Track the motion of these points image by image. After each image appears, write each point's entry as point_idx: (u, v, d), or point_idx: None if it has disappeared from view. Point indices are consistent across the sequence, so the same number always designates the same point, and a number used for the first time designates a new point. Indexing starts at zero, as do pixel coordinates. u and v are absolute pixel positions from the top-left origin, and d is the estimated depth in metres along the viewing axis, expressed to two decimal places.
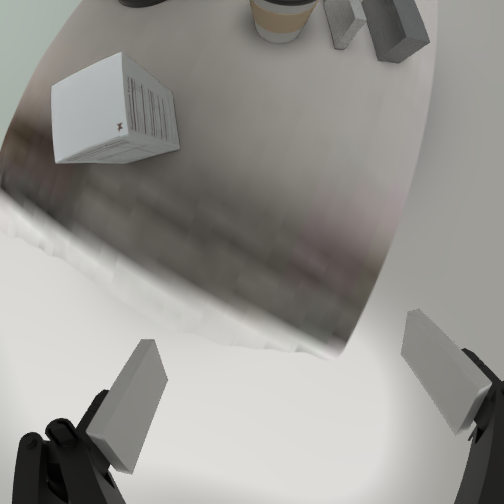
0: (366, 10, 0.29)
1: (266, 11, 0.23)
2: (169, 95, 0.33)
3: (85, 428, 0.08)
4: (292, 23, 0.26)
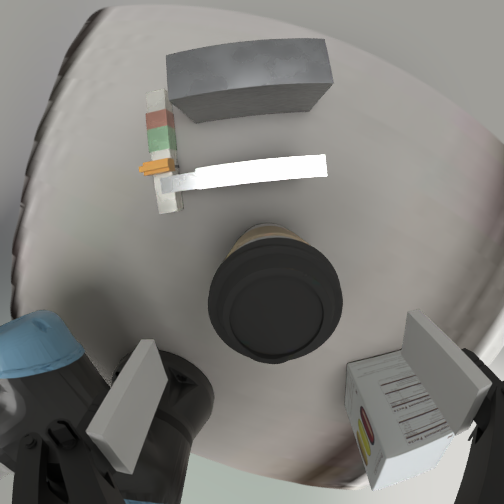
0: (215, 117, 0.26)
1: None
2: (359, 370, 0.33)
3: (85, 427, 0.08)
4: None
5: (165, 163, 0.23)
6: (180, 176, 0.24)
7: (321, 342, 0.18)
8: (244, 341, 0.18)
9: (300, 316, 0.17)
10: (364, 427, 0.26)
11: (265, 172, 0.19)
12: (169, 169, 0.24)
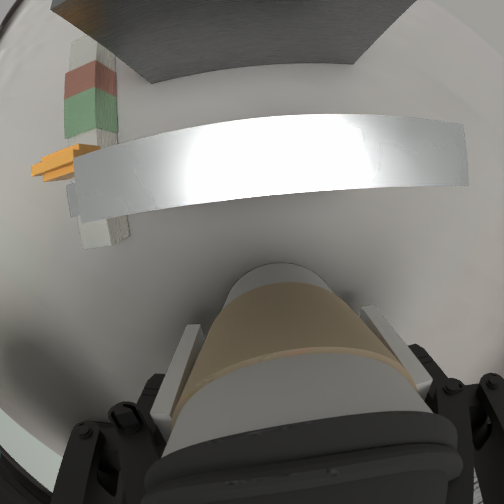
0: (182, 68, 0.12)
1: None
2: None
3: (143, 411, 0.09)
4: None
5: (69, 154, 0.09)
6: None
7: None
8: None
9: None
10: None
11: (299, 160, 0.05)
12: None
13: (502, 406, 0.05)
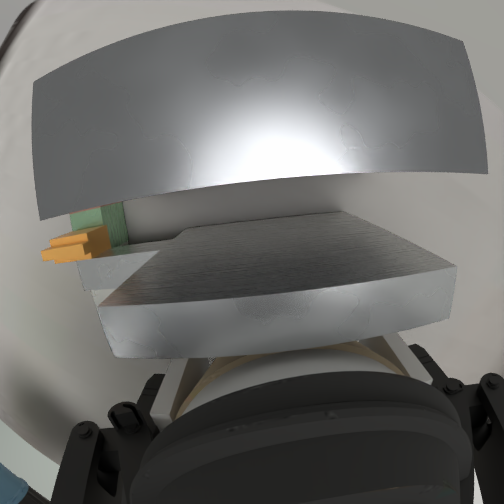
0: None
1: None
2: None
3: (142, 411, 0.09)
4: None
5: (79, 248, 0.10)
6: (109, 261, 0.11)
7: None
8: None
9: None
10: None
11: (300, 327, 0.06)
12: (92, 255, 0.11)
13: (502, 406, 0.05)
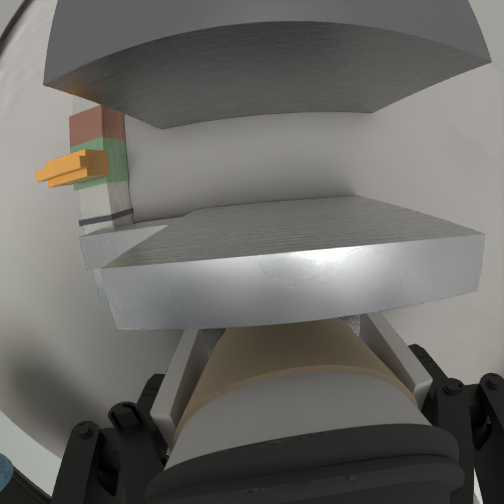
0: (196, 118, 0.13)
1: None
2: None
3: (142, 411, 0.09)
4: None
5: (75, 161, 0.09)
6: (114, 237, 0.11)
7: None
8: None
9: None
10: None
11: (328, 292, 0.05)
12: (88, 173, 0.10)
13: (502, 406, 0.05)
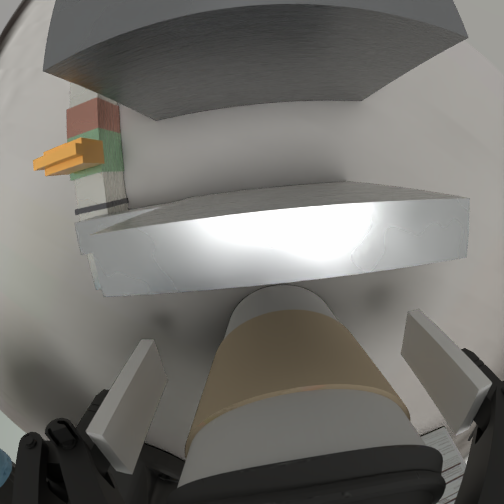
0: (188, 108, 0.13)
1: None
2: None
3: (85, 427, 0.08)
4: None
5: (72, 148, 0.09)
6: (108, 221, 0.11)
7: None
8: None
9: None
10: None
11: (310, 251, 0.06)
12: (84, 160, 0.10)
13: None
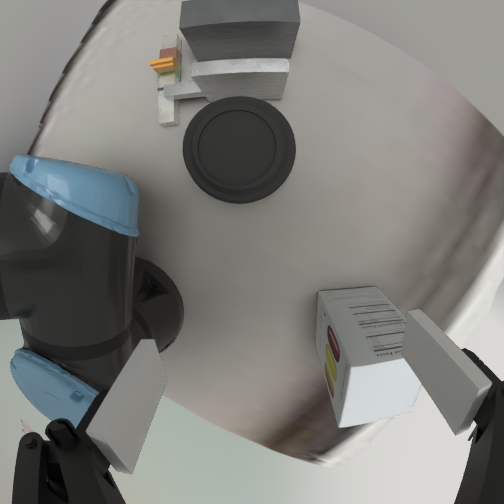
0: (214, 56, 0.29)
1: None
2: (328, 296, 0.36)
3: (85, 428, 0.08)
4: None
5: (170, 58, 0.25)
6: (179, 84, 0.27)
7: (274, 186, 0.21)
8: (206, 167, 0.20)
9: (256, 149, 0.20)
10: (331, 348, 0.29)
11: (242, 66, 0.22)
12: (173, 64, 0.26)
13: None
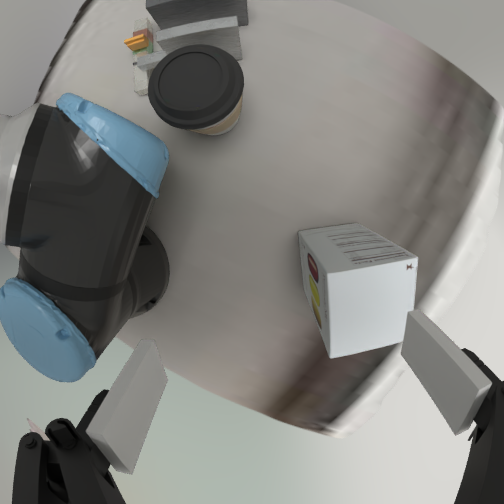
0: None
1: (233, 112, 0.26)
2: (308, 232, 0.36)
3: (85, 427, 0.08)
4: None
5: (141, 35, 0.26)
6: (150, 54, 0.28)
7: (225, 107, 0.22)
8: (166, 99, 0.21)
9: (206, 79, 0.21)
10: (312, 275, 0.30)
11: (198, 27, 0.22)
12: (144, 40, 0.27)
13: None
